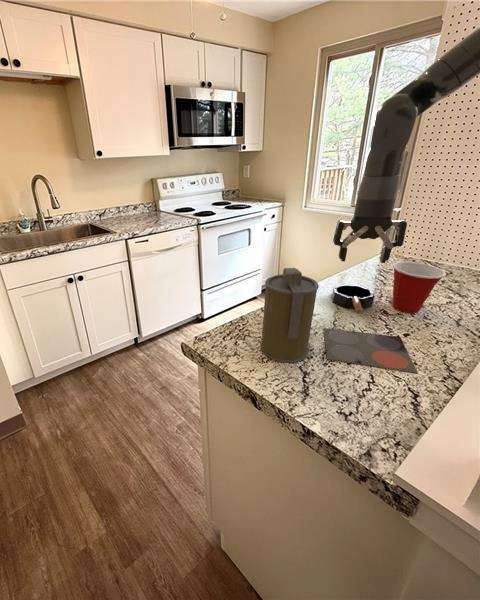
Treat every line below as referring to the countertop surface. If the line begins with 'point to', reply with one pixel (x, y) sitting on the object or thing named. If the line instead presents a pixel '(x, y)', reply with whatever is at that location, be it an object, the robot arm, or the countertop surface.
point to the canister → (288, 315)
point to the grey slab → (368, 350)
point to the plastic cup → (413, 284)
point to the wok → (352, 297)
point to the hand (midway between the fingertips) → (362, 261)
